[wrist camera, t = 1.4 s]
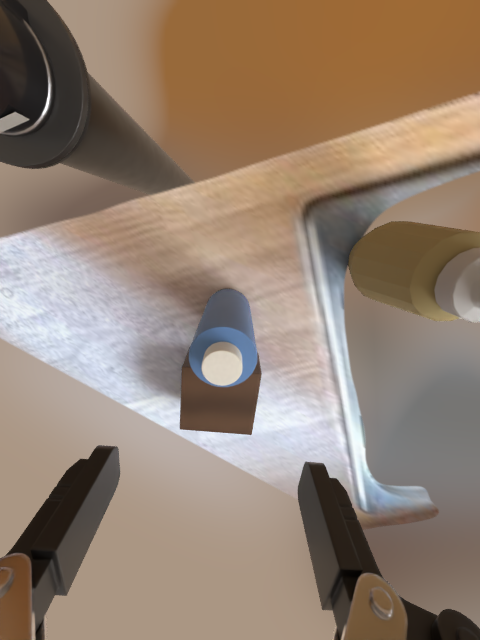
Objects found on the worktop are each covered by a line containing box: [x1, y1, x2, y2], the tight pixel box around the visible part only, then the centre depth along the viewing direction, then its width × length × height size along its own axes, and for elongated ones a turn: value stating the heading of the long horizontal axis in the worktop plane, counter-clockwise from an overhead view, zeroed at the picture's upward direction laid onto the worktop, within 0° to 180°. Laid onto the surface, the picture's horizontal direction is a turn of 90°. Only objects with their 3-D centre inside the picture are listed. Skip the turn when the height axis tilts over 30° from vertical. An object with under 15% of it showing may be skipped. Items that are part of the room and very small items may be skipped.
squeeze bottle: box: [348, 221, 480, 322], centre depth 20 cm, size 8×8×18 cm
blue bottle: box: [189, 289, 257, 387], centre depth 25 cm, size 5×5×14 cm
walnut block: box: [180, 348, 261, 435], centre depth 32 cm, size 9×9×5 cm
